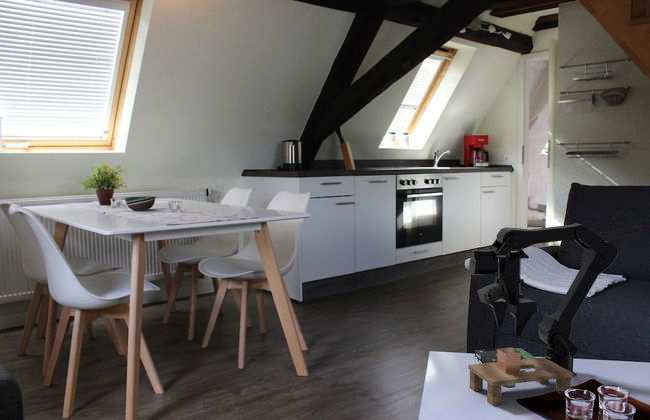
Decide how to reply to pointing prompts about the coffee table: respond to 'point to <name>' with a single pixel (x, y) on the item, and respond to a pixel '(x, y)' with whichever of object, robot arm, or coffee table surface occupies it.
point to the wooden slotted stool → (517, 376)
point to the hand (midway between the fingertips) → (508, 331)
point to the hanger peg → (508, 362)
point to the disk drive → (491, 355)
